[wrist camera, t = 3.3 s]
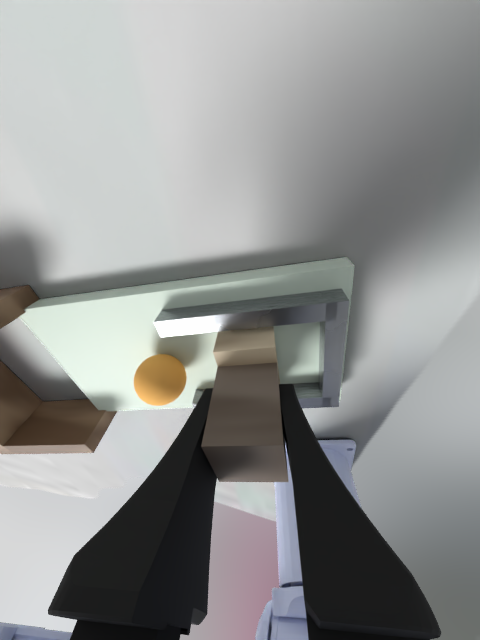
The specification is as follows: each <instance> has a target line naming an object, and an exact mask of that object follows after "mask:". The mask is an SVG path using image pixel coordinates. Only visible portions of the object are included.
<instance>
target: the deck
mask: <svg viewBox="0 0 480 640" xmlns="http://www.w3.org/2000/svg"><path fill="white" fill-rule="evenodd" d="M354 268H355V266H354V264H353V263H352V262H351V261H350V260H349V259H348V258H347V257H342V258H335V259H328V260H321V261H314V262H306V263H299V264H292V265H285V266H277V267H270V268H263V269H256V270H248V271H241V272H234V273H227V274H219V275H212V276H205V277H198V278H190V279H183V280H176V281H169V282H161V283H154V284H147V285H140V286H132V287H125V288H118V289H111V290H103V291H96V292H89V293H82V294H74V295H67V296H60V297H53V298H45V299H39V300H38V301H36V302H35V303H33V304H31V305H30V306H28V307H27V308H25V309H24V311H25V313H24V314H22V315H21V316H19V318H20V319H21V320H22V321H23V322H24V324H25V325H26V326H27V327H28V328H29V329H30V331H31V332H32V333H33V334H34V335H35V336H36V338H37V339H38V340H39V341H40V342H41V343H42V345H43V346H44V347H45V348H46V349H47V351H48V352H49V353H50V354H51V355H52V356H53V358H54V359H55V360H56V361H57V362H58V363H59V365H60V366H61V367H62V368H63V369H64V370H65V372H66V373H67V374H68V375H69V376H70V377H71V379H72V380H73V381H74V382H75V383H76V385H77V386H78V387H79V388H80V389H81V390H82V392H83V393H84V394H85V395H86V396H87V397H88V399H89V400H90V401H91V402H92V403H93V404H94V406H95V407H96V408H97V409H98V410H106V411H128V410H151V409H173V408H194V407H193V405H192V402H193V398H194V395H195V391H196V389H206V388H213V387H214V382H215V377H216V372H217V367H218V366H217V363H216V360H215V357H214V354H213V350H214V346H215V342H216V338H217V334H218V332H209V333H199V334H189V335H179V336H168V337H160V335H159V332H158V330H157V328H156V326H155V324H154V321H155V319H156V318H157V316H158V315H159V313H160V312H161V310H164V309H172V308H181V307H189V306H197V305H206V304H214V303H223V302H231V301H240V300H248V299H257V298H265V297H274V296H282V295H291V294H299V293H308V292H316V291H325V290H333V289H342V290H343V291H344V293H345V294H346V296H347V298H348V299H349V310H348V320H347V329H346V339H345V349H344V359H343V368H342V378H341V388H340V398H339V401H340V399H341V390H342V380H343V371H344V362H345V352H346V343H347V334H348V324H349V315H350V306H351V296H352V287H353V278H354ZM273 327H274V335H275V344H276V353H277V361H278V370H279V378H280V384H296V383H314V382H319V338H320V322H312V323H301V324H291V325H281V326H273ZM157 354H167V355H171V356H173V357H175V358H177V359H178V360H179V361H180V362H181V363H182V364H183V366H184V368H185V371H186V376H187V379H186V385H185V388H184V390H183V392H182V393H181V395H180V396H179V397H178V398H177V399H176V400H174V401H173V402H171V403H169V404H166V405H162V406H154V405H150V404H147V403H145V402H144V401H142V400H141V399H140V398H139V396H138V395H137V393H136V391H135V388H134V376H135V372H136V370H137V368H138V367H139V365H140V364H141V363H142V362H143V361H144V360H146V359H147V358H149V357H151V356H154V355H157Z"/></svg>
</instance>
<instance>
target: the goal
mask: <svg viewBox="0 0 480 640" xmlns="http://www.w3.org/2000/svg"><path fill="white" fill-rule="evenodd" d="M38 300H39V298H38V297H37V295H36V294H35V293H34V291H33V290H32V289H31V287H30V286H29V285H25V286H19V287H12V288H6V289H0V329H1V328H2V327H4V326H5V325H7V324H9V323H10V322H12V321H13V320H15V319H16V318H18V317H19V316H21V315H22V314H24V313H25V311H24V309H25V308H27V307H28V306H30V305H31V304H33V303H35V302H36V301H38ZM116 412H117V411H106V410H98V409H97V408H96V407H95V406H94V404H93V403H92V402H91V401H90V400H89V399H80V400H62V401H44V402H43V401H42V400H41V399H40V398H39V397H38V396H37V395H36V394H35V393H34V392H33V391H32V390H30V389H29V388H28V387H27V386H26V385H25V384H24V383H23V382H22V381H21V380H20V379H19V378H18V377H17V376H16V375H15V374H14V373H13V372H12V371H11V370H10V369H9V368H8V367H7V366H6V365H5V364H3V363H2V362H1V361H0V453H1V454H45V453H94V451H95V449H96V448H97V446H98V444H99V442H100V441H101V439H102V437H103V435H104V434H105V432H106V430H107V428H108V426H109V425H110V423H111V421H112V419H113V418H114V416H115V414H116Z"/></svg>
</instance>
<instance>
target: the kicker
mask: <svg viewBox="0 0 480 640" xmlns="http://www.w3.org/2000/svg"><path fill="white" fill-rule="evenodd" d="M213 354H214V357H215V360H216V363H217V366H218V367H217V372H216V377H215V382H214V387H213V391H212V396H211V401H210V406H209V411H208V416H207V421H206V425H205V430H204V435H203V440H202V445H201V447H202V449H203V451H204V453H205V455H206V457H207V459H208V461H209V463H210V465H211V467H212V469H213V470H214V472H215V474H216V476H217V478H218V480H219V482H288V470H287V459H286V448H285V437H284V429H283V421H282V413H281V405H280V393H279V384H280V378H279V370H278V361H277V353H276V344H275V335H274V327H273V326H271V327H260V328H250V329H240V330H230V331H220V332H218V334H217V338H216V342H215V346H214V350H213Z"/></svg>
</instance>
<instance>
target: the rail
mask: <svg viewBox="0 0 480 640" xmlns="http://www.w3.org/2000/svg"><path fill="white" fill-rule="evenodd" d="M348 310H349V299H348V298H347V296H346V294H345V293H344V291H343V290H342V289H333V290H325V291H316V292H308V293H299V294H291V295H282V296H274V297H265V298H257V299H248V300H240V301H231V302H223V303H214V304H206V305H197V306H189V307H181V308H172V309H164V310H161V312H160V313H159V315H158V316H157V318H156V319H155V321H154V324H155V326H156V328H157V330H158V332H159V335H160V337H168V336H179V335H189V334H199V333H209V332H220V331H230V330H240V329H250V328H260V327H271V326H281V325H291V324H301V323H312V322H320V338H319V382H314V383H296V384H293V385H294V389H295V392H296V395H297V398H298V401H299V403H300V406H301V408H320V407H339V398H340V388H341V378H342V368H343V359H344V349H345V339H346V329H347V320H348ZM204 390H205V389H196V391H195V395H194V398H193V402H192V405H193V407H194V408H195V406H196V405H197V403H198V401H199V399H200V397H201V395H202V393H203V391H204Z"/></svg>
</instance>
